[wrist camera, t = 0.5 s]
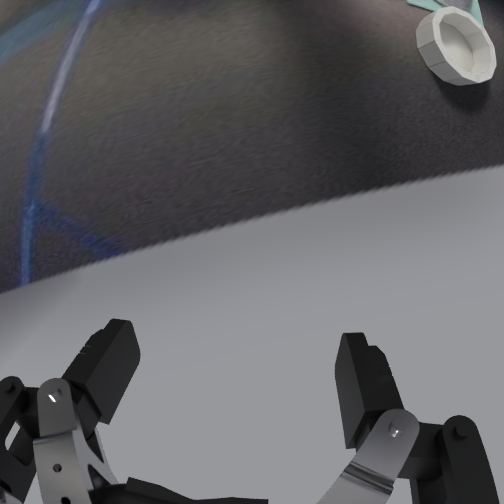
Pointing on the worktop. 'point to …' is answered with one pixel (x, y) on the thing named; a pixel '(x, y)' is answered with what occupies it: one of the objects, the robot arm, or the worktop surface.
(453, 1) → the lid
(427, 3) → the mat
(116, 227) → the worktop surface
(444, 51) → the dish
